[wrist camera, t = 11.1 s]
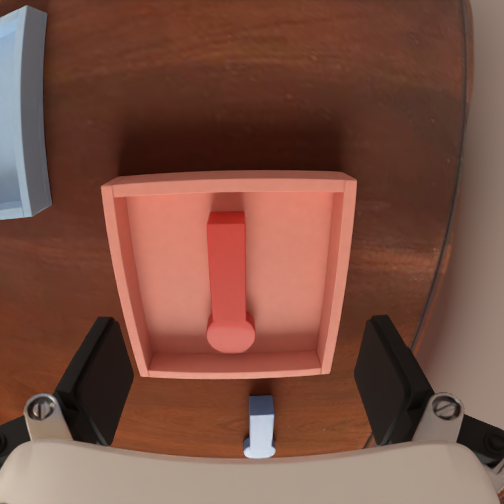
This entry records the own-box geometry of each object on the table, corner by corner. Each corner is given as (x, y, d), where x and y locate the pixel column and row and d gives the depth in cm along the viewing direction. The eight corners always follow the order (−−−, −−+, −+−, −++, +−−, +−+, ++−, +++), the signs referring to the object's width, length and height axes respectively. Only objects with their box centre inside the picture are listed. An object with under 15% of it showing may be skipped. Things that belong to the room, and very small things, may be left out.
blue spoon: (279, 394, 25) (282, 413, 23) (273, 449, 29) (275, 466, 27) (241, 395, 25) (242, 415, 23) (243, 450, 29) (244, 467, 27)
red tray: (342, 171, 18) (357, 180, 16) (322, 350, 23) (329, 373, 21) (117, 176, 18) (100, 185, 15) (147, 353, 23) (140, 376, 21)
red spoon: (255, 210, 18) (257, 222, 16) (254, 342, 22) (256, 363, 20) (199, 211, 18) (194, 223, 16) (209, 343, 22) (207, 364, 20)
